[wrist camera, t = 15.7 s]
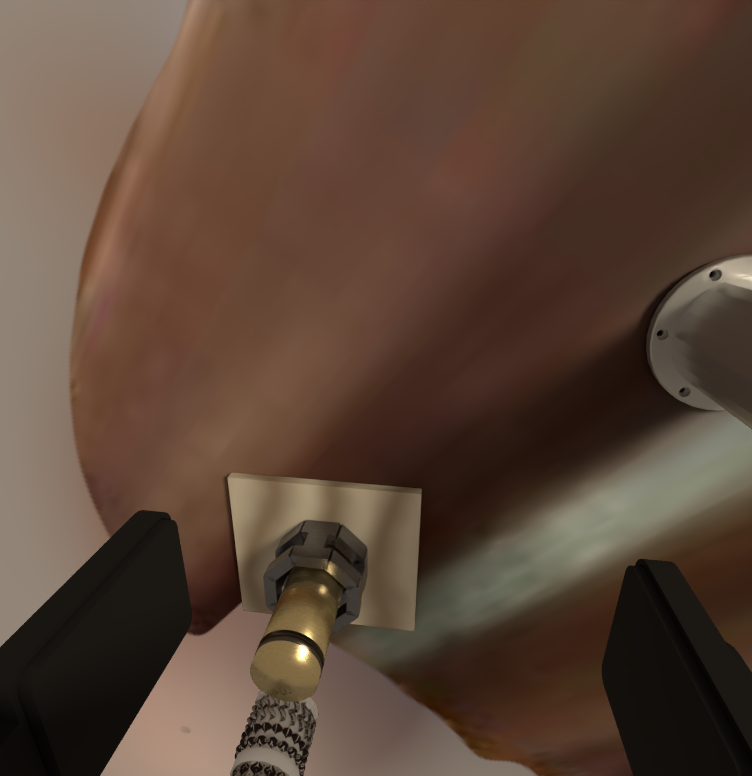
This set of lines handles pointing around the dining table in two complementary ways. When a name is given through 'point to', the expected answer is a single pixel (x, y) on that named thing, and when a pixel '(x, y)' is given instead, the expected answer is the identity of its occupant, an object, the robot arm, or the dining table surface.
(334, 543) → the ring
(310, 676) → the gold cylinder
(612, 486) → the dining table surface
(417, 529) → the board
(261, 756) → the decorative candle
